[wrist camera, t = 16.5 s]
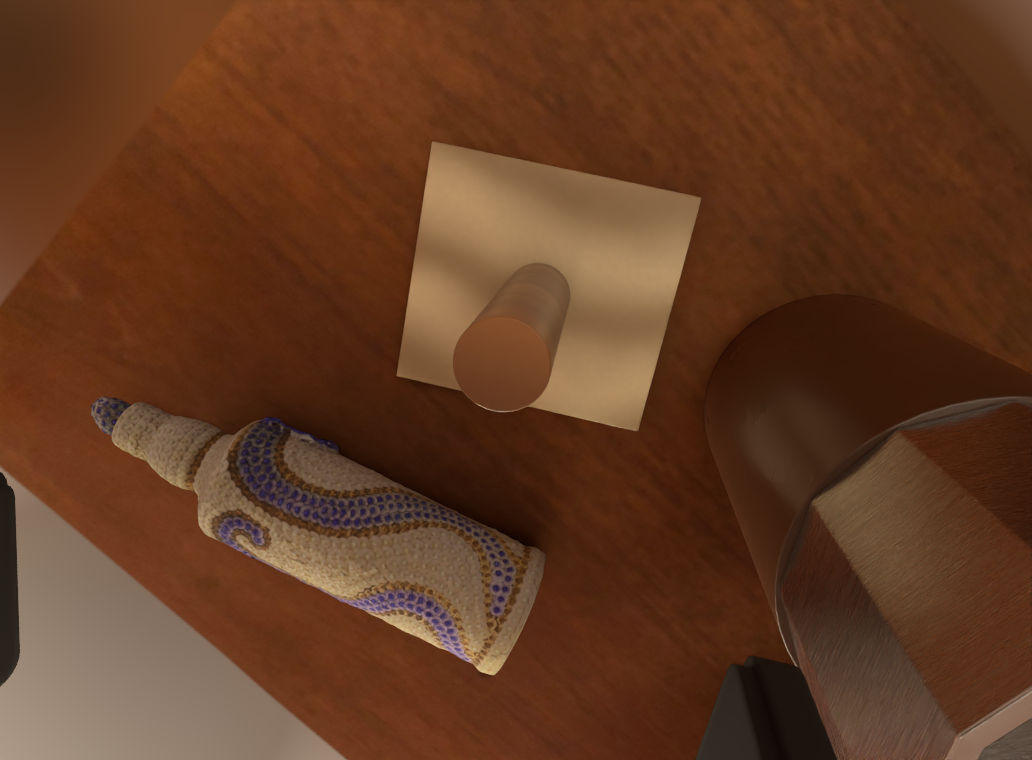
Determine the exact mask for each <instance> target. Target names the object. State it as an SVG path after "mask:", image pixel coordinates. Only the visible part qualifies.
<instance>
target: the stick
mask: <svg viewBox="0 0 1032 760" xmlns="http://www.w3.org/2000/svg"><path fill="white" fill-rule="evenodd" d="M569 301H570V289H569V285H568V283H567V281H566V279H565V277H564V276H563V274H562V273H561V272H560V271H558V270H557V269H556V268H554V267H552V266H550V265H547V264H543V263H532V264H528V265H525V266H523V267H521V268H520V269H518V270H517V271H516V272H515V273H514V274H513V275H512V276H511V278H510V279H509V280H508V281H507V282H506V283H505V285H504V286H503V287H502V288H501V289H500V290H499V292H498V293H497V294H496V295H495V296H494V297H493V299H492V300H491V301H490V302H489V303H488V304H487V306H486V307H485V308H484V309H483V310H482V311H481V313H480V314H479V315H478V316H477V317H476V319H475V320H474V321H473V322H472V323H471V324H470V326H469V327H468V328H467V329H466V330H465V331H464V333H463V334H462V335H461V337H460V338H459V340H458V342H457V344H456V347H455V350H454V354H453V370H454V375H455V378H456V381H457V383H458V385H459V387H460V388H461V390H462V391H463V392H464V394H465V395H466V396H467V397H468V398H469V399H470V400H472V401H473V402H474V403H476V404H477V405H479V406H481V407H483V408H485V409H488V410H492V411H497V412H512V411H516V410H520V409H523V408H525V407H527V406H529V405H530V404H532V403H533V402H535V401H536V400H537V399H538V398H539V397H540V396H541V394H542V393H543V392H544V390H545V389H546V387H547V384H548V382H549V379H550V376H551V372H552V368H553V364H554V360H555V356H556V352H557V348H558V345H559V341H560V337H561V333H562V329H563V325H564V321H565V317H566V313H567V310H568V306H569Z"/></svg>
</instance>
